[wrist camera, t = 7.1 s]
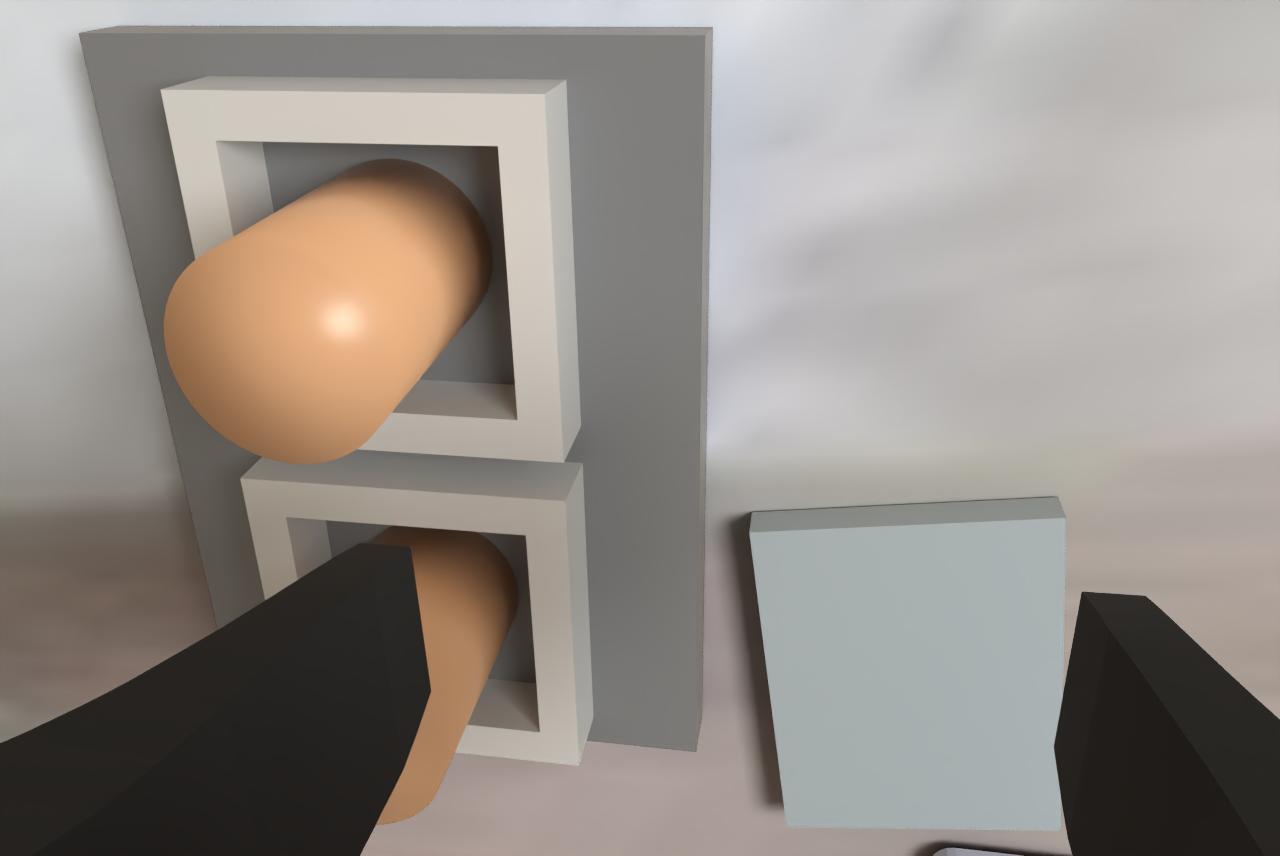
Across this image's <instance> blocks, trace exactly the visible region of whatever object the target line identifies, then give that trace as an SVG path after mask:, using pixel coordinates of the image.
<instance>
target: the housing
mask: <svg viewBox="0 0 1280 856" xmlns="http://www.w3.org/2000/svg"><path fill="white" fill-rule="evenodd" d="M79 36H80V40H81V44H82V49H83V53H84V57H85V62H86V66H87V70H88V75H89V79H90V83H91V87H92V92H93V96H94V100H95V105H96V109H97V113H98V117H99V122H100V126H101V130H102V135H103V139H104V143H105V148H106V152H107V156H108V160H109V165H110V169H111V173H112V178H113V182H114V186H115V191H116V195H117V199H118V203H119V208H120V212H121V216H122V221H123V225H124V229H125V233H126V238H127V242H128V246H129V251H130V255H131V259H132V264H133V268H134V272H135V276H136V281H137V285H138V289H139V294H140V298H141V302H142V307H143V311H144V315H145V319H146V324H147V328H148V332H149V337H150V341H151V345H152V349H153V354H154V358H155V362H156V367H157V371H158V375H159V380H160V384H161V388H162V392H163V397H164V401H165V405H166V410H167V414H168V418H169V423H170V427H171V431H172V435H173V440H174V444H175V448H176V453H177V457H178V461H179V465H180V470H181V474H182V478H183V483H184V487H185V491H186V496H187V500H188V504H189V508H190V513H191V517H192V521H193V526H194V530H195V534H196V539H197V543H198V547H199V551H200V556H201V560H202V564H203V569H204V573H205V577H206V581H207V586H208V590H209V594H210V599H211V603H212V607H213V612H214V616H215V620H216V624H217V629H218V630H219V629H220V628H222V627H223V626H225V625H227V624H228V623H230V622H231V621H233V620H235V619H236V618H238V617H239V616H241V615H243V614H244V613H246V612H247V611H249V610H251V609H252V608H254V607H255V606H257V605H259V604H260V603H262V602H263V601H265V600H267V599H268V598H270V597H271V596H273V595H275V594H276V593H278V592H279V591H281V590H282V589H284V588H286V587H287V586H289V585H290V584H292V583H294V582H295V581H297V580H298V579H300V578H301V577H303V576H305V575H306V574H308V573H309V572H311V571H313V570H314V569H316V568H317V567H319V566H321V565H322V564H324V563H326V562H327V561H329V560H331V559H332V558H334V557H336V556H337V555H339V554H341V553H342V552H344V551H346V550H348V549H350V548H352V547H354V546H356V545H357V544H359V543H366V544H373V542H374V541H375V540H376V539H377V537H378V536H379V535H380V534H381V533H382V532H384V531H385V530H386V529H387V528H389V527H391V526H393V525H396V526H409V527H422V528H435V529H448V530H462V531H475V532H478V533H480V534H482V535H483V536H484V537H486V538H487V539H488V540H490V541H491V542H492V543H493V544H494V545H495V546H496V547H497V548H498V549H499V550H500V551H501V553H502V554H503V555H504V556H505V558H506V559H507V561H508V562H509V564H510V566H511V568H512V570H513V572H514V574H515V577H516V581H517V584H518V591H519V602H518V609H517V612H516V615H515V618H514V620H513V622H512V625H511V627H510V629H509V631H508V634H507V636H506V638H505V640H504V643H503V645H502V647H501V649H500V652H499V654H498V656H497V658H496V661H495V663H494V665H493V667H492V670H491V672H490V674H489V676H488V679H487V681H486V683H485V685H484V688H483V690H482V692H481V694H480V697H479V699H478V701H477V703H476V706H475V708H474V710H473V712H472V715H471V717H470V719H469V721H468V724H467V726H466V728H465V730H464V733H463V735H462V737H461V739H460V742H459V744H458V746H457V748H456V751H455V752H457V753H466V754H475V755H485V756H494V757H503V758H512V759H521V760H531V761H540V762H549V763H558V764H567V765H577V766H579V765H580V761H581V758H582V755H583V751H584V748H585V744H586V741H596V742H605V743H615V744H624V745H634V746H643V747H653V748H663V749H672V750H682V751H691V752H696V750H697V744H698V738H699V732H700V725H701V719H702V689H703V625H704V560H705V495H706V430H707V365H708V301H709V236H710V171H711V106H712V41H713V27H400V26H116V27H110V28H104V29H99V30H93V31H87V32H82V33H79ZM377 159H402V160H408V161H412V162H416V163H419V164H421V165H424V166H427V167H429V168H431V169H433V170H435V171H437V172H438V173H440V174H442V175H443V176H445V177H446V178H448V179H449V180H450V181H452V182H453V183H454V184H455V185H456V186H457V187H458V188H459V189H461V190H462V192H463V193H464V194H465V195H466V196H467V197H468V198H469V199H470V201H471V202H472V204H473V205H474V207H475V208H476V209H477V211H478V213H479V215H480V217H481V219H482V220H483V223H484V225H485V228H486V230H487V233H488V237H489V240H490V244H491V252H492V273H491V280H490V284H489V287H488V290H487V293H486V295H485V297H484V299H483V301H482V303H481V304H480V306H479V308H478V309H477V310H476V312H475V313H474V314H473V315H472V317H471V318H470V319H469V320H468V321H467V323H466V324H465V325H464V326H463V327H462V329H461V330H460V331H459V332H458V333H457V335H456V336H455V337H454V338H453V339H452V341H451V342H450V343H449V344H448V345H447V347H446V348H445V349H444V350H443V351H442V353H441V354H440V355H439V356H438V357H437V359H436V360H435V361H434V362H433V363H432V365H431V366H430V367H429V368H428V369H427V371H426V372H425V373H424V374H423V375H422V377H421V378H420V379H419V380H418V381H417V383H416V384H415V385H414V386H413V387H412V389H411V390H410V391H409V392H408V393H407V395H406V396H405V397H404V398H403V399H402V401H401V402H400V403H399V404H398V405H397V407H396V408H395V409H394V410H393V412H392V413H391V414H390V415H389V416H388V418H387V419H386V420H385V421H384V422H383V424H382V425H381V426H380V427H379V428H378V430H377V431H376V432H375V433H374V434H373V435H372V436H371V437H370V439H369V440H368V441H367V442H365V443H364V444H363V445H362V446H360V447H359V448H358V449H356V450H355V451H353V452H351V453H349V454H348V455H346V456H343V457H340V458H338V459H335V460H332V461H327V462H323V463H315V464H292V463H285V462H279V461H275V460H271V459H268V458H264V457H262V456H259V455H257V454H254V453H251V452H249V451H248V450H246V449H244V448H242V447H240V446H238V445H236V444H235V443H233V442H232V441H230V440H228V439H227V438H225V437H224V436H223V435H221V434H220V433H219V432H218V431H216V430H215V429H214V428H213V427H212V426H211V425H210V424H209V423H207V422H206V421H205V420H204V419H203V418H202V417H201V416H200V414H199V413H198V412H197V411H196V410H195V408H194V407H193V406H192V405H191V403H190V402H189V400H188V399H187V398H186V396H185V395H184V393H183V392H182V390H181V388H180V386H179V384H178V382H177V380H176V379H175V376H174V374H173V371H172V369H171V366H170V363H169V360H168V356H167V352H166V347H165V340H164V316H165V309H166V305H167V301H168V298H169V295H170V293H171V291H172V288H173V286H174V284H175V282H176V281H177V280H178V278H179V277H180V275H181V274H182V272H183V271H184V270H185V269H186V268H187V267H188V266H189V265H190V264H191V263H192V262H193V261H195V260H196V259H198V258H199V257H200V256H202V255H203V254H205V253H207V252H208V251H210V250H212V249H213V248H215V247H217V246H219V245H220V244H222V243H224V242H225V241H227V240H229V239H230V238H232V237H234V236H236V235H237V234H239V233H241V232H242V231H244V230H246V229H248V228H249V227H251V226H253V225H254V224H256V223H258V222H259V221H261V220H263V219H265V218H266V217H268V216H270V215H271V214H273V213H275V212H277V211H278V210H280V209H282V208H283V207H285V206H287V205H288V204H290V203H292V202H294V201H295V200H297V199H299V198H300V197H302V196H304V195H305V194H307V193H309V192H311V191H312V190H314V189H316V188H317V187H319V186H321V185H323V184H324V183H326V182H328V181H329V180H331V179H333V178H334V177H336V176H338V175H340V174H341V173H343V172H345V171H346V170H348V169H350V168H352V167H354V166H356V165H358V164H361V163H364V162H367V161H371V160H377Z"/></svg>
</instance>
